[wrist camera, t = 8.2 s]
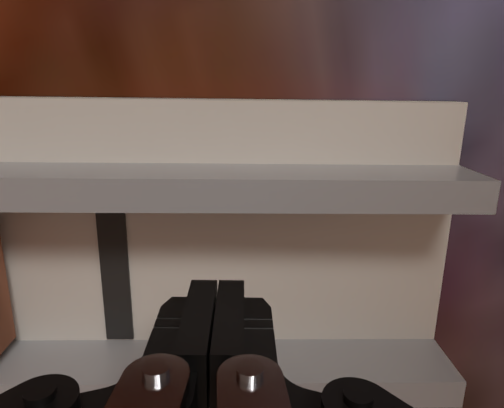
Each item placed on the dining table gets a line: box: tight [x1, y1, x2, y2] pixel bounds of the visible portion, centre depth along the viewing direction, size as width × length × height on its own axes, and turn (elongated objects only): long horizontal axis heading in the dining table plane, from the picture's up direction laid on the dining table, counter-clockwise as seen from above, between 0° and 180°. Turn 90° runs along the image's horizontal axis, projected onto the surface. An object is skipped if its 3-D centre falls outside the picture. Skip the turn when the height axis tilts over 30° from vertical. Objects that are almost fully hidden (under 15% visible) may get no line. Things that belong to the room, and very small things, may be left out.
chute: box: [0, 96, 501, 408], centre depth 14 cm, size 26×12×5 cm, turn 89°
